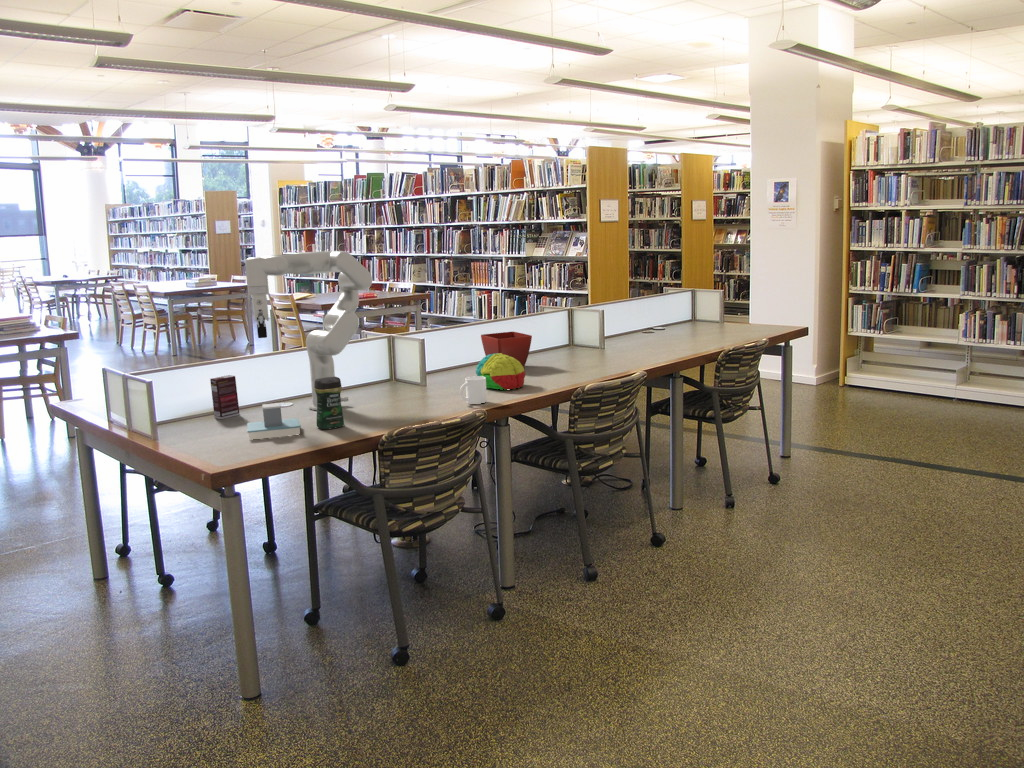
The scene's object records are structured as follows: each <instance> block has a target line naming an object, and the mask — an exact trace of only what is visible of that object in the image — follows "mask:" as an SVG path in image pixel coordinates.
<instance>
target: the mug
mask: <svg viewBox="0 0 1024 768" xmlns="http://www.w3.org/2000/svg"><path fill="white" fill-rule="evenodd" d="M464 389H465V395H466V396H464ZM487 395H488V394H487V388H486V377H483V376H477V375H472V376H466V377H465V382H464V383H463V384H462V385H461V386H460V388H459V396H460V398H461V400H462V401H466V404H468V405H470V404H480V403H484V402H486V401H488V398H487ZM486 403H487V402H486Z"/></svg>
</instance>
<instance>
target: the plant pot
mask: <svg viewBox="0 0 1024 768" xmlns="http://www.w3.org/2000/svg"><path fill="white" fill-rule="evenodd" d="M532 336H533V335H531V334H526V333H523V332H522V333H521V332H517V331H506V332H505V331H504V332H503V331H502V332H495V333H494V332H493V333H484V334H480V339H481V345H482V347H483V351H484V355H485V357H486V356H487V355H490V354H496V353H502V354H503V355H508V356H509V357H513V358H514V359H516V360H518V361H519V362H520V363H521V365H522V366H523V368H525V366H526V363H527V360H528V358H529V354H530V349H531V345H532V338H533V337H532Z"/></svg>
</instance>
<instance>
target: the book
mask: <svg viewBox="0 0 1024 768" xmlns="http://www.w3.org/2000/svg"><path fill="white" fill-rule="evenodd" d="M246 426H247V427H246V428H247V429H246V431H247V433H248V438H249V441H254V440H253V439H260V440H263V439H262V438H269V439H272V438H271V437H279V438H281V437H280V436H288V435H296V434H300V435H301V429H300V428H302V427H301V423H300V420H299V417H295V418H294V417H292V418H285V419H284V418H282V426H272V427H265V425H264V420H263V421H256V422H255V421H253V422H247V424H246Z"/></svg>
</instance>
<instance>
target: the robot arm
mask: <svg viewBox="0 0 1024 768" xmlns="http://www.w3.org/2000/svg"><path fill="white" fill-rule="evenodd" d="M244 261H245V262H244V265H245V276H246V286H247V295H248V296H251V302H252V311H253V316H254V320H255V322H256V323H257V324H256V329H257V330H256V331H257V337H258V339H265V338H266V339H267V337H268V333H267V325H266V321H267V322H268V321H269V320H270V317H269V309H268V308H269V306H268V298H267V295H269V294H270V291H269V289H270V288H269V281H268V280H269V279H268V278H269V277H268V276H273V277H280V276H284V275H289V274H291V275H315V274H316V275H317V274H326V273H327V274H328V273H329V274H330V273H339V274H338V278H337V282H338V287H339V297H338V298H337V299H336V301H335V303H334V304H333V305H332V307H331V308H330V309H329V311H328V312H327V313H326V315H325V316H324V318H323V323H322V324H323V327H324V328H325V329H324V330H323V329H315V330H312V331H311V332H309V333H308V334H307V336H306V339H305V347H306V352H307V354H308V355H307V356H308V359H309V360H308V361H309V371H310V383H311V398H312V403H311V404H309V405H308V407H309V409H310V410H311V409H312V411H317V395H316V392H315V390H314V385H315V379H319V378H326V377H336V373H335V362H334V358H333V356H337V355H339V354H341V353H342V352H343V351H344V349H345V348H346V347H347V346H348V344H349V342H350V341H351V340H352V338H353V337H354V335H355V334H356V333H357V331H358V328H359V324H360V321H359V317H358V316H357V314H356V311H357V309H358V307H359V304H360V296H359V291H360V292H361V291H363V292H364V291H366V290H368V289H370V287H372V284H373V277H372V274H371V273H370V271H369V270H368V269H367V268H366V266H364V264H361V262H360V261H358V259H356V258H355V257H354V256H353V255H352V254H350V253H349V252H347V251H344V250H325V251H323V250H322V251H307V252H296V253H287V254H274V255H273V254H268V255H262V256H261V257H259V256H257V257H248V258H246V259H245V260H244ZM340 399H341V403H343V402H349V396H345V395H344V396H340Z"/></svg>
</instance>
